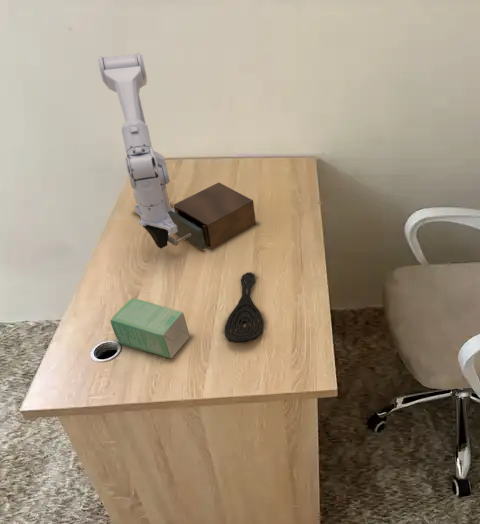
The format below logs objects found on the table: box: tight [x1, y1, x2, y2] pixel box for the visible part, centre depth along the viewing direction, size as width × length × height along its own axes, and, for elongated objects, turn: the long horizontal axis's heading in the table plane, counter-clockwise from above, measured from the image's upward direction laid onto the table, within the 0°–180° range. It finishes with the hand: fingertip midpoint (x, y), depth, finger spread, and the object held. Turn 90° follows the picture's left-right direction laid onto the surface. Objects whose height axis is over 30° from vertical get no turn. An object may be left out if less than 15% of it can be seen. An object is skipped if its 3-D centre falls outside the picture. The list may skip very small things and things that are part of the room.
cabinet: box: [173, 181, 257, 250], centre depth 154 cm, size 15×14×8 cm
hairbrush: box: [224, 271, 264, 344], centre depth 130 cm, size 8×4×25 cm
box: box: [110, 297, 190, 359], centre depth 121 cm, size 7×14×8 cm, turn 70°
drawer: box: [168, 209, 210, 251], centre depth 151 cm, size 20×13×6 cm, turn 139°
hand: (162, 246), depth 145 cm, fingers closed, pressing on drawer
